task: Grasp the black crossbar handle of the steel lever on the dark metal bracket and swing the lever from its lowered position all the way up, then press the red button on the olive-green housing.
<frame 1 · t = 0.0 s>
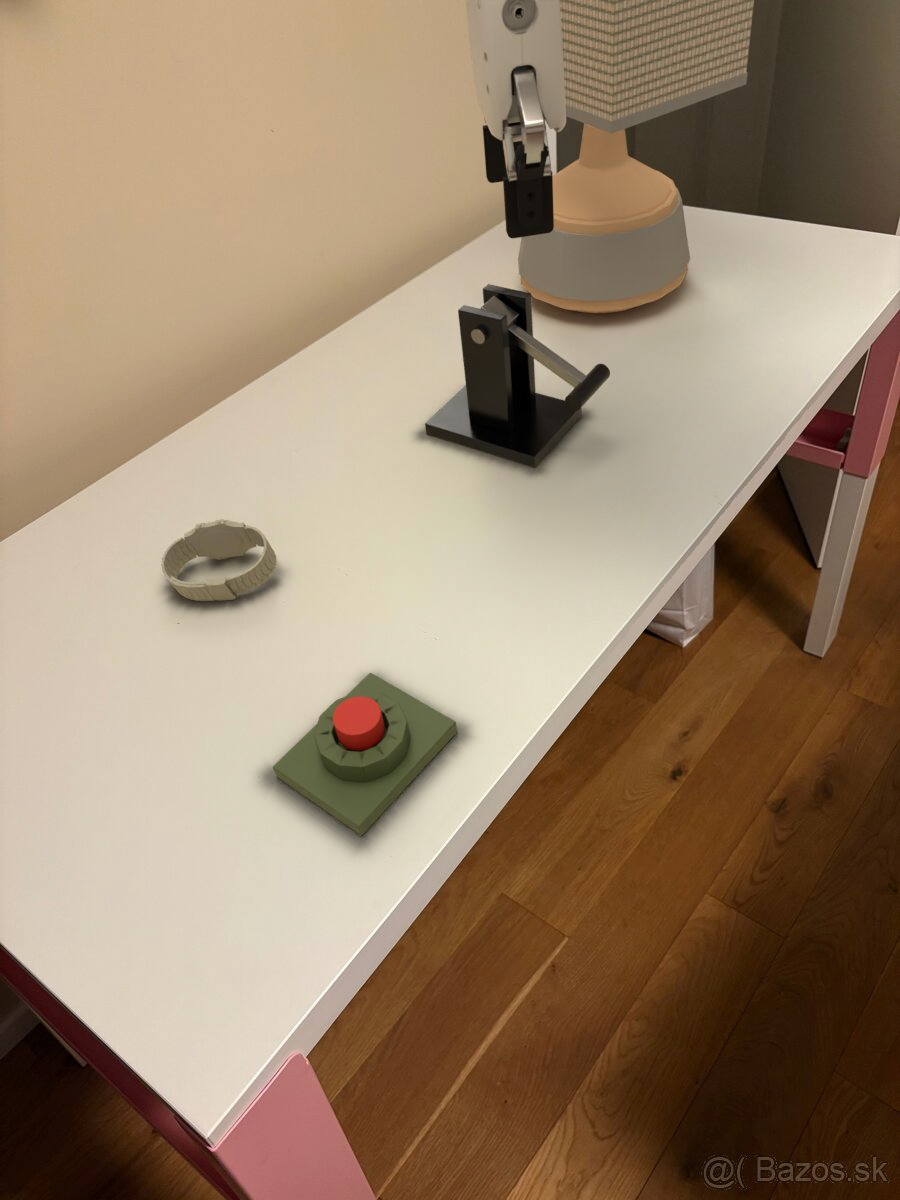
hand: (518, 205, 68), 24 cm above the table, tool pointing down, fingers open, 9 cm apart
bracket: (503, 424, 91), on the table
desk lamp: (602, 287, 108), on the table
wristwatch: (226, 581, 79), on the table
button box: (367, 754, 65), on the table
lever: (538, 351, 83), point 9 cm above the table, hinge at -26.0°
button: (359, 723, 63), point 3 cm above the table, slide at 0.1 cm
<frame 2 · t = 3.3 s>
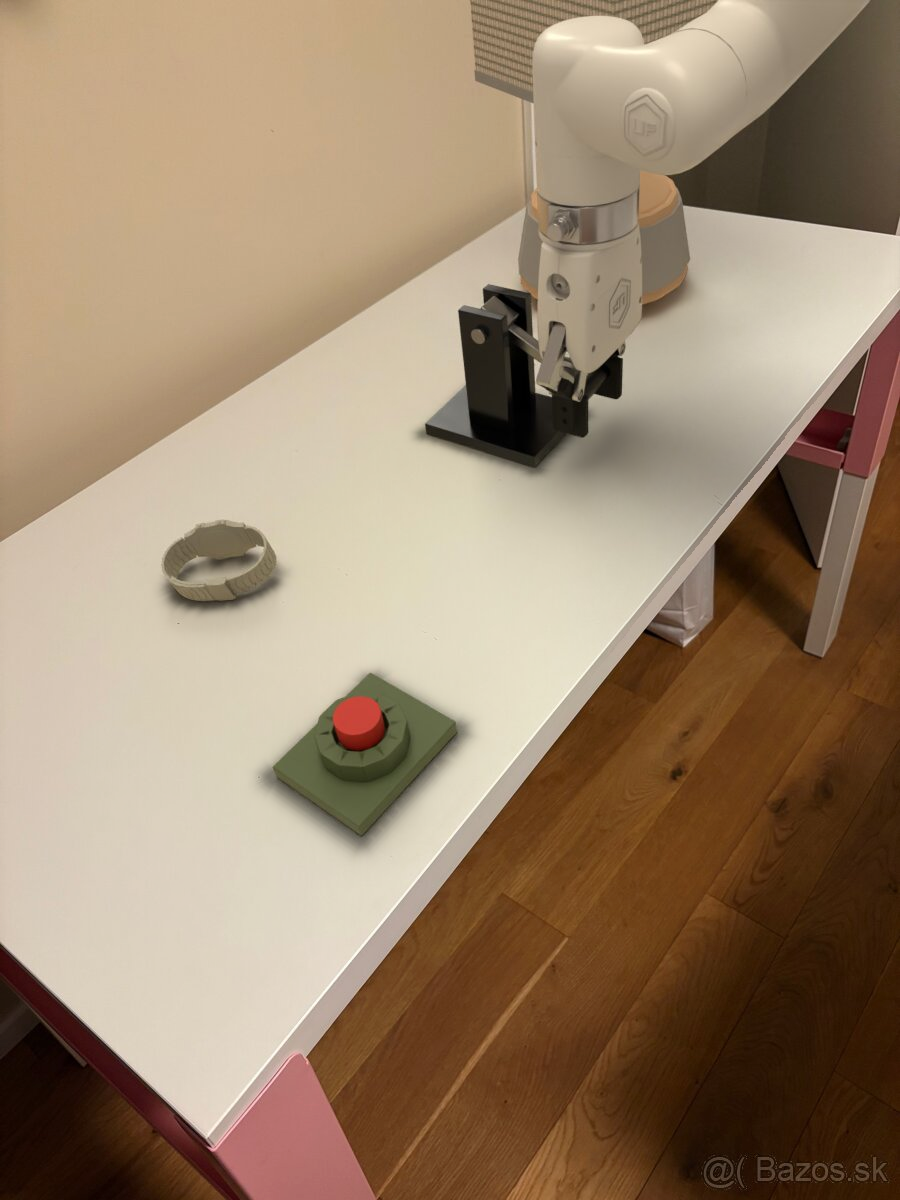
hand: (587, 411, 84), 4 cm above the table, tool pointing down, fingers closed on lever, 5 cm apart
lever: (538, 351, 83), point 9 cm above the table, hinge at -26.0°, touching gripper
everything else where it was.
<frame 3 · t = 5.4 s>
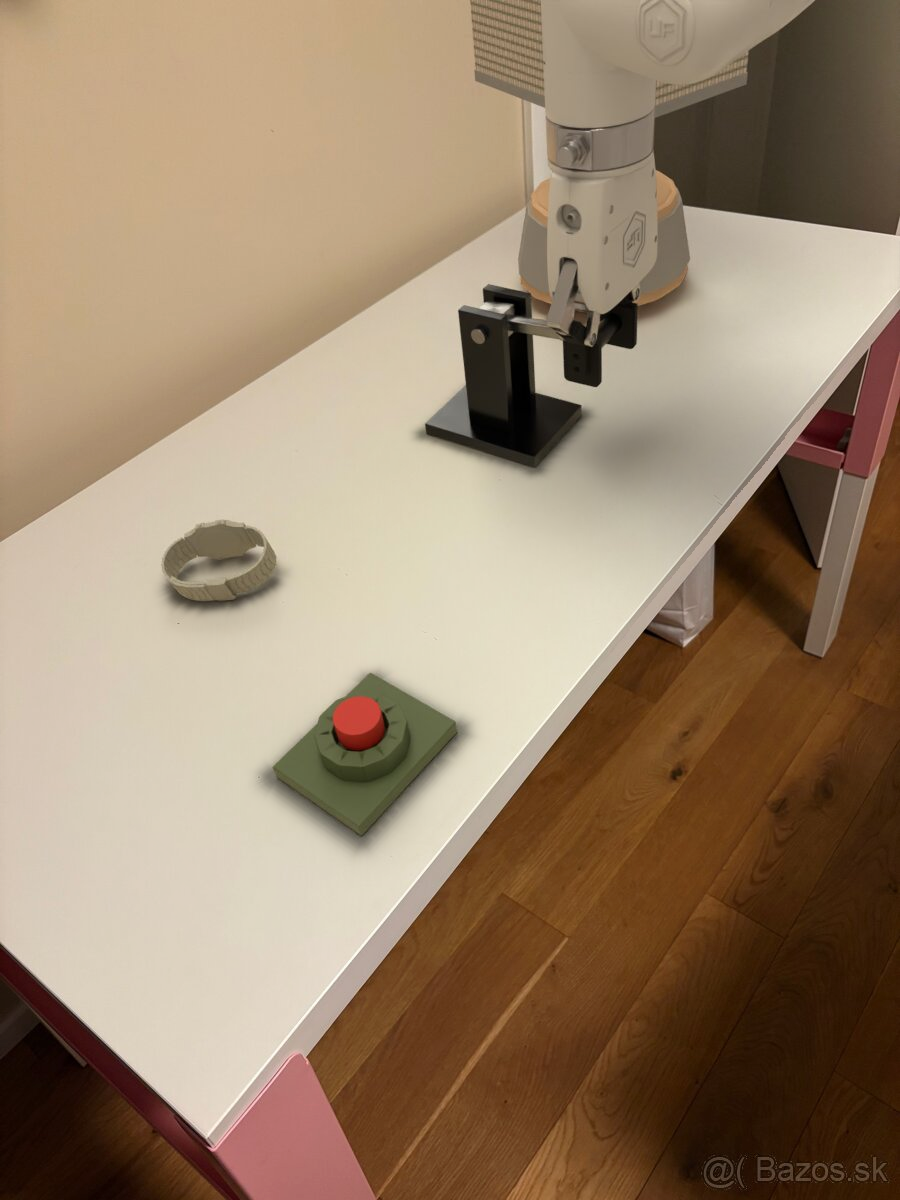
hand: (600, 361, 79), 9 cm above the table, tool pointing down, fingers closed on lever, 5 cm apart
lever: (542, 328, 81), point 11 cm above the table, hinge at 3.7°, touching gripper
everything else where it was.
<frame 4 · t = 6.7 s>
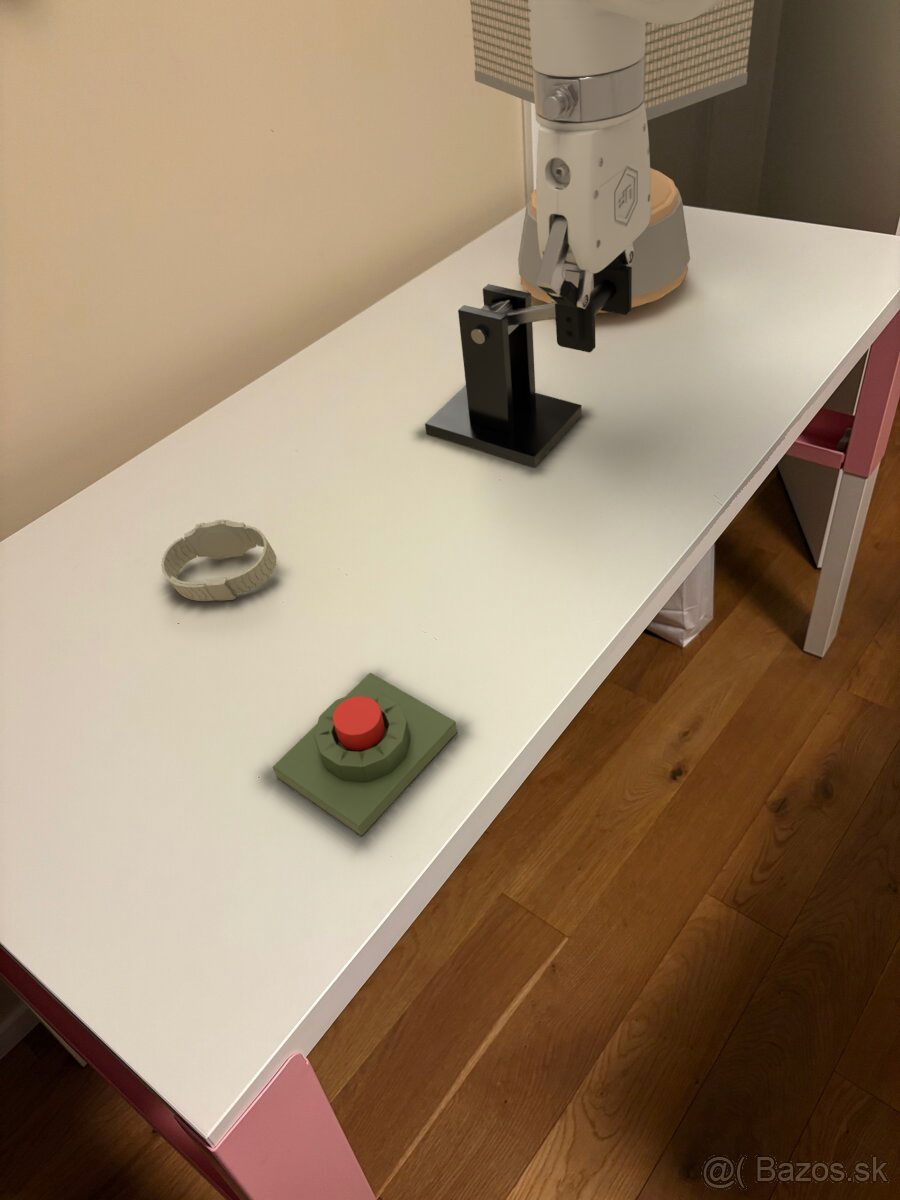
hand: (594, 326, 78), 13 cm above the table, tool pointing down, fingers closed on lever, 5 cm apart
lever: (539, 313, 80), point 13 cm above the table, hinge at 20.4°, touching gripper
everything else where it was.
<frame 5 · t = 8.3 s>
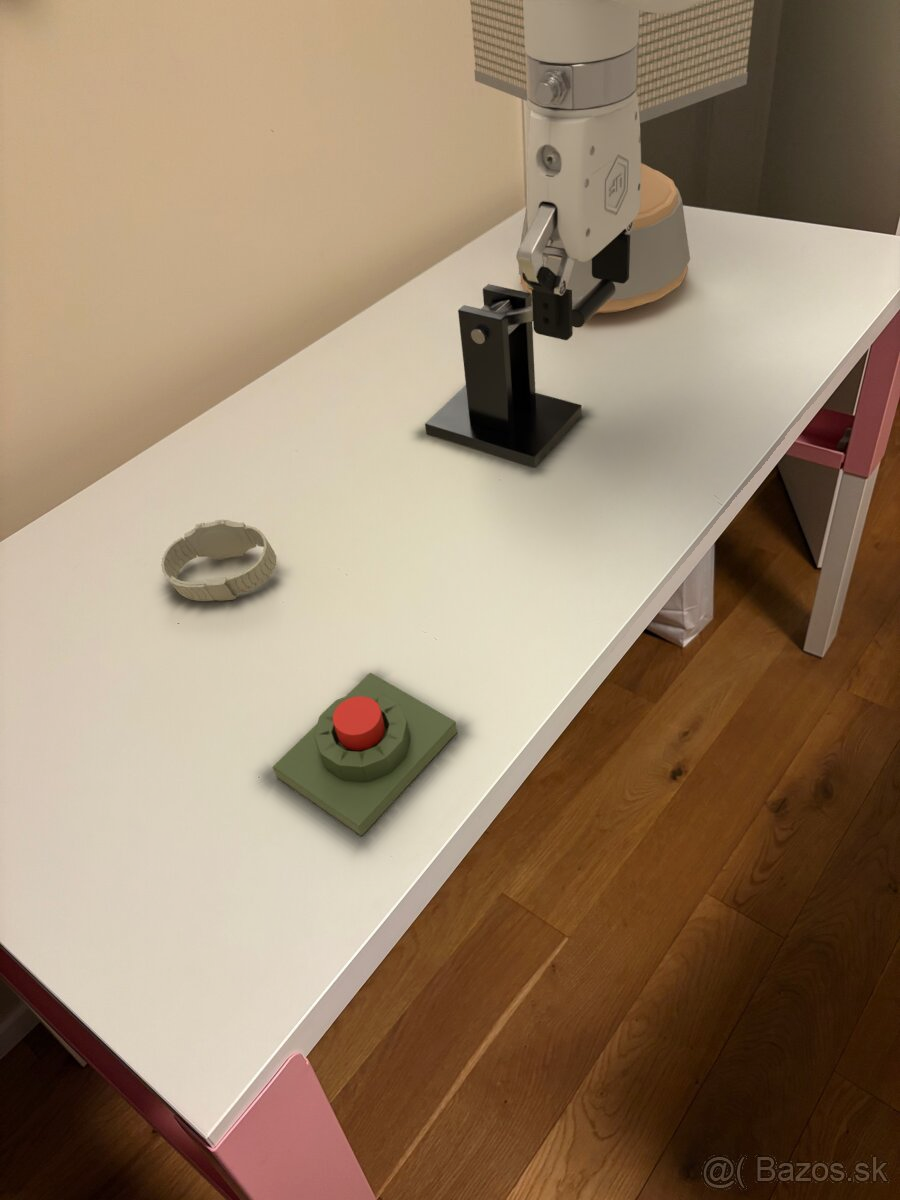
hand: (582, 306, 77), 14 cm above the table, tool pointing down, fingers open, 9 cm apart
lever: (538, 312, 80), point 13 cm above the table, hinge at 21.1°
everything else where it was.
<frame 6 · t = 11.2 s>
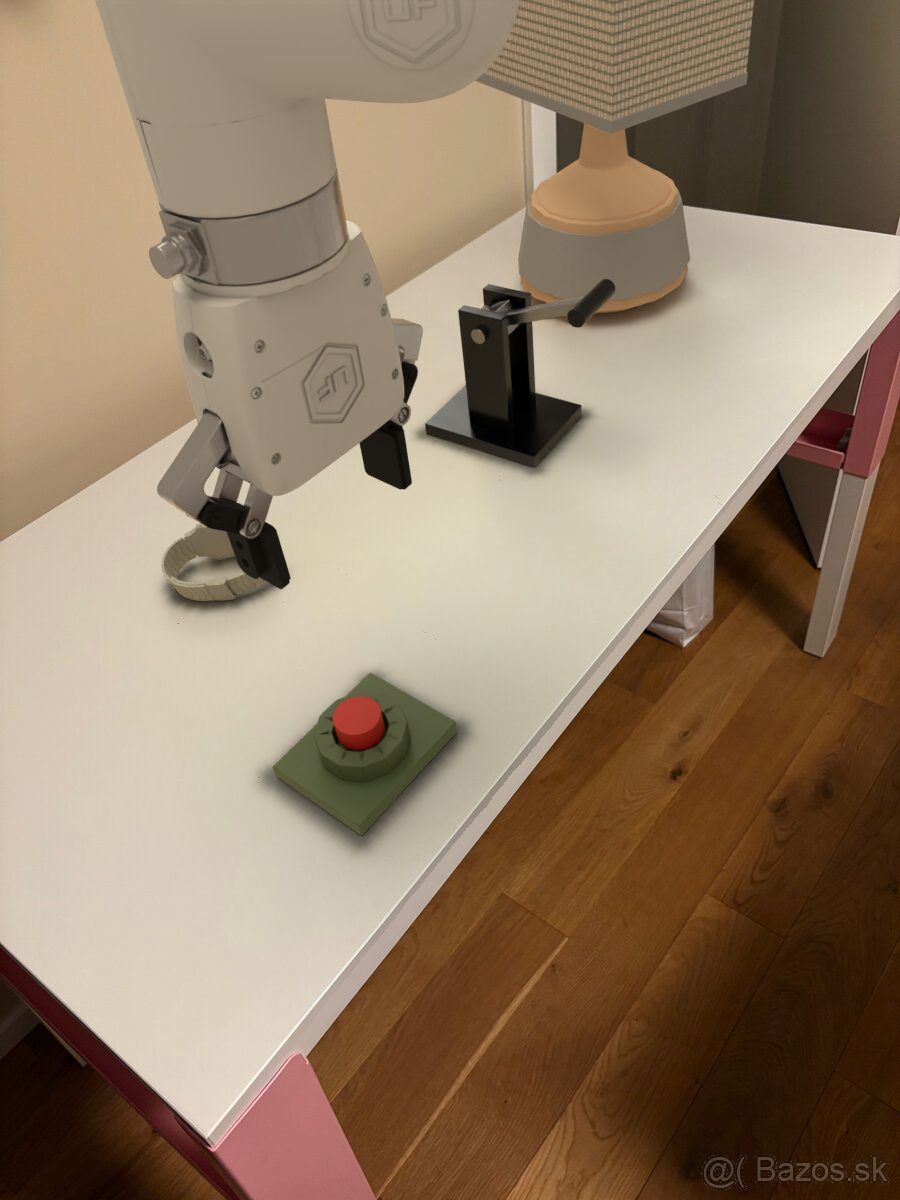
hand: (331, 526, 53), 19 cm above the table, tool pointing down, fingers open, 9 cm apart
nothing on the table moved.
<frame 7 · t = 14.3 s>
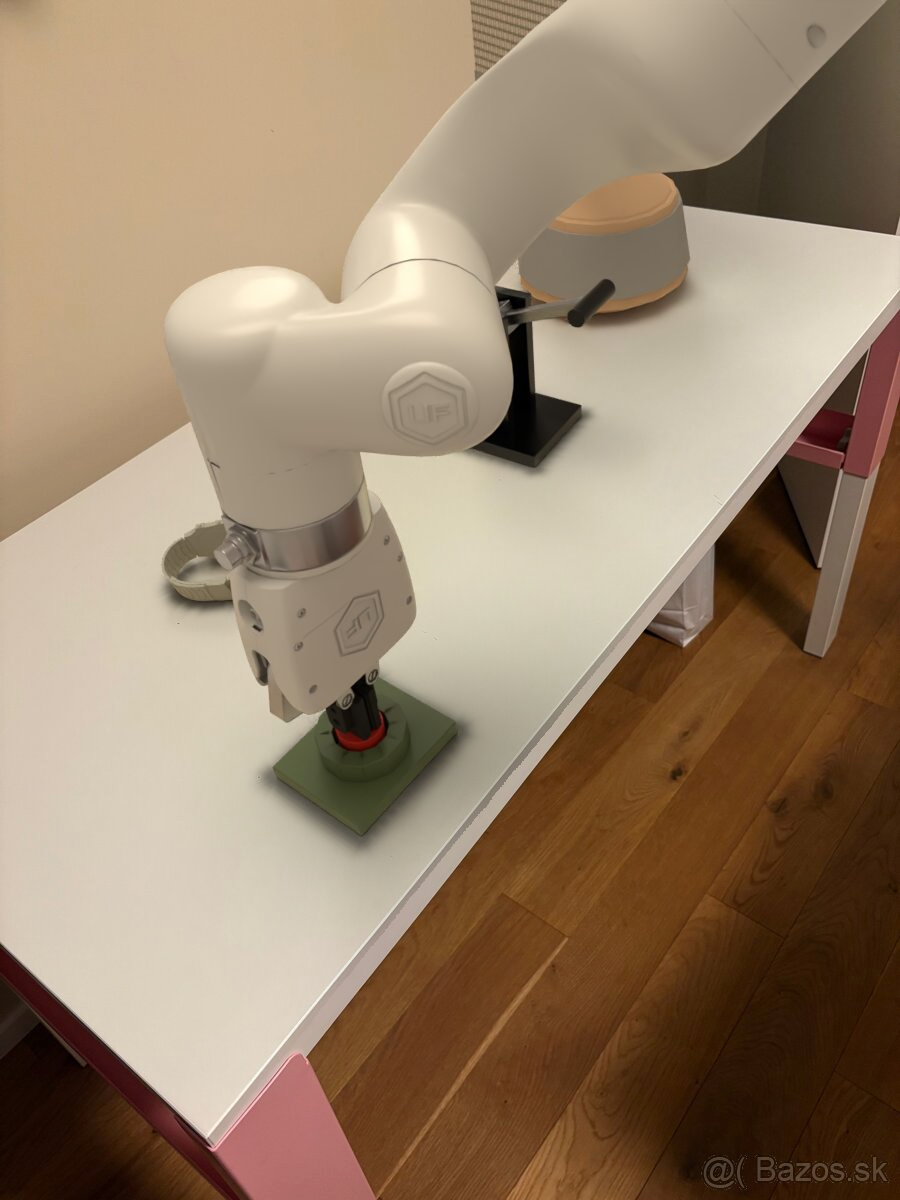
hand: (356, 723, 63), 4 cm above the table, tool pointing down, fingers closed
button: (361, 731, 63), point 3 cm above the table, slide at -0.7 cm, touching gripper
everything else where it was.
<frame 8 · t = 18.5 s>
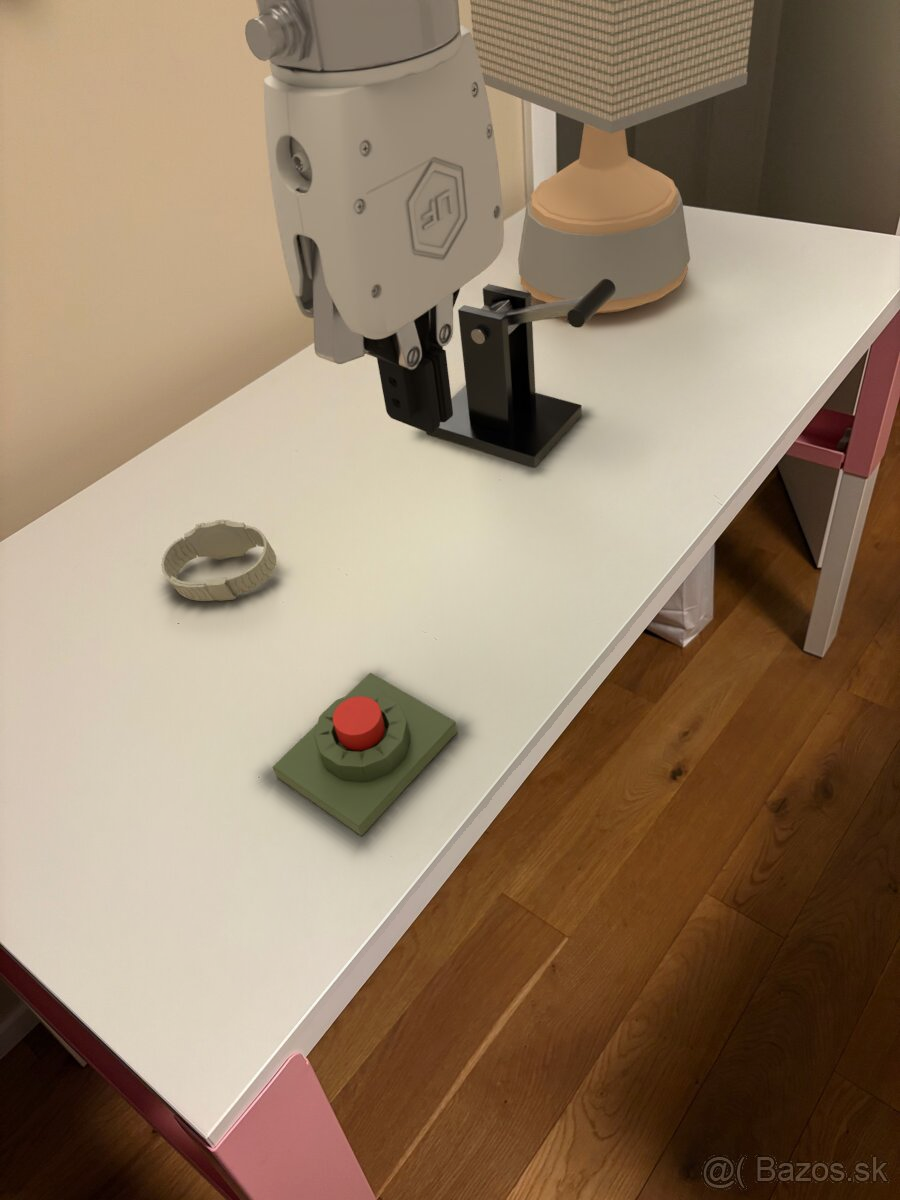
hand: (420, 417, 49), 25 cm above the table, tool pointing down, fingers closed
button: (359, 723, 63), point 3 cm above the table, slide at 0.1 cm
everything else where it was.
at the end: lever at +21° (first picture: -26°); button pushed in 1.1 cm at the most during the clip, back to where it started at the end; button slide at 0.1 cm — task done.
